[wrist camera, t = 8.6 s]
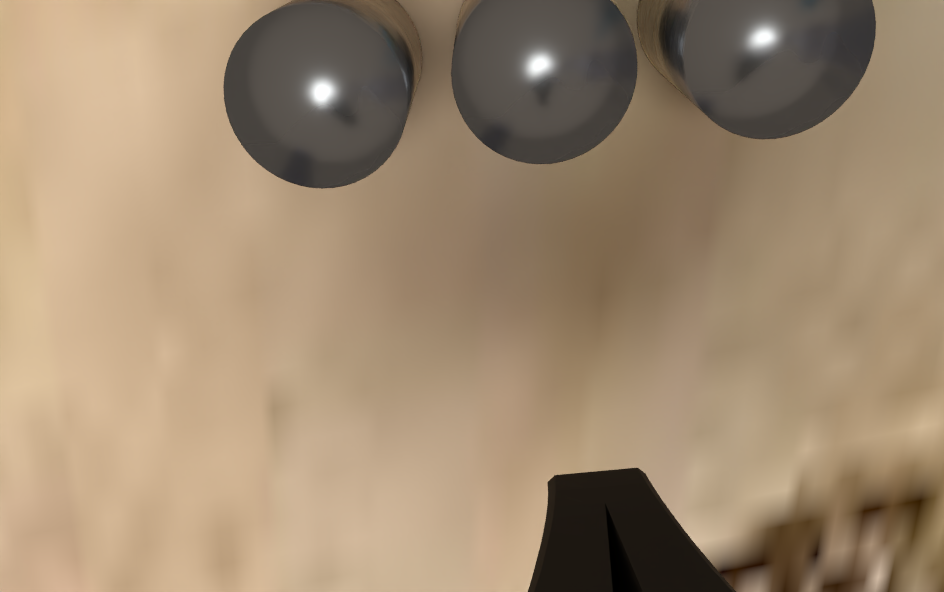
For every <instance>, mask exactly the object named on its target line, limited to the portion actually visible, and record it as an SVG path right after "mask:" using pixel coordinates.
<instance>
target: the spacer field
mask: <svg viewBox="0 0 944 592" xmlns="http://www.w3.org/2000/svg"><path fill="white" fill-rule="evenodd" d="M637 25H638V34H639V38H640V42H641V45H642V48H643V50H644V52H645V54H646V56H647V58H648V59H649V61H650V62H651V63H652V65H653V66H654V67H655V68H656V69H657V70H658V71H659V72H660V73H661V74H662V75H663V76H664V77H665V78H666V79H668V80H669V81H670V82H671V83H672V84H673V85H674V86H675V87H676V88H677V89H678V90H679V91H681V92H682V93H683V94H684V95H685V96H686V97H687V98H688V99H689V100H690V101H691V102H693V103H694V104H695V105H696V106H697V107H698V108H699V109H700V110H701V111H702V112H703V113H705V114H706V115H707V116H708V117H709V118H710V119H711V120H712V121H714V122H715V123H716V124H718V125H719V126H720V127H722V128H724V129H726V130H728V131H729V132H732V133H734V134H737V135H740V136H744V137H748V138H755V139H776V138H782V137H787V136H791V135H794V134H797V133H800V132H802V131H805V130H807V129H809V128H811V127H813V126H815V125H817V124H818V123H820V122H822V121H823V120H825V119H826V118H827V117H829V116H830V115H831V114H833V113H834V112H835V111H836V110H837V109H838V108H839V107H840V106H841V105H842V104H843V103H844V102H845V101H846V100H847V99H848V98H849V97H850V95H851V94H852V93H853V91H854V90H855V88H856V87H857V86H858V84H859V82H860V80H861V79H862V77H863V75H864V73H865V71H866V68H867V66H868V64H869V61H870V58H871V54H872V51H873V47H874V41H875V29H876V21H875V11H874V6H873V2H872V0H640V2H639V7H638V17H637ZM421 68H422V50H421V44H420V39H419V36H418V33H417V30H416V28H415V26H414V24H413V22H412V20H411V18H410V17H409V15H408V14H407V12H406V11H405V10H404V9H403V7H402V6H401V5H400V4H399V3H398V2H397V1H396V0H293V1H291V2H289V3H287V4H285V5H283V6H281V7H280V8H278V9H276V10H274V11H272V12H270V13H269V14H267V15H265V16H263V17H262V18H260V19H259V20H257V21H256V22H255V23H253V24H252V25H251V26H250V27H249V28H248V29H247V30H246V31H245V32H244V33H243V35H242V36H241V37H240V39H239V40H238V41H237V43H236V45H235V47H234V48H233V50H232V52H231V55H230V57H229V60H228V63H227V67H226V71H225V76H224V101H225V106H226V112H227V115H228V118H229V121H230V124H231V126H232V128H233V131H234V133H235V135H236V136H237V138H238V140H239V141H240V143H241V145H242V146H243V147H244V148H245V150H246V151H247V152H248V154H249V155H250V156H251V157H252V158H253V159H254V160H255V161H256V162H257V163H259V164H260V165H261V166H262V167H264V168H265V169H266V170H267V171H269V172H271V173H272V174H274V175H276V176H277V177H279V178H281V179H284V180H286V181H288V182H291V183H294V184H297V185H301V186H305V187H311V188H335V187H340V186H345V185H348V184H352V183H355V182H357V181H359V180H361V179H363V178H365V177H367V176H368V175H370V174H371V173H373V172H374V171H376V170H377V169H378V168H379V167H380V166H381V165H383V163H384V162H385V161H386V160H387V159H388V158H389V157H390V155H391V154H392V152H393V151H394V149H395V148H396V146H397V144H398V142H399V140H400V138H401V135H402V132H403V129H404V126H405V123H406V120H407V117H408V113H409V110H410V107H411V104H412V101H413V97H414V94H415V91H416V88H417V84H418V81H419V78H420V74H421ZM451 76H452V87H453V92H454V97H455V100H456V103H457V106H458V109H459V111H460V113H461V115H462V117H463V119H464V121H465V122H466V124H467V125H468V127H469V128H470V130H471V131H472V132H473V133H474V134H475V135H476V137H477V138H478V139H479V140H481V141H482V142H483V143H484V144H485V145H486V146H488V147H489V148H491V149H492V150H494V151H495V152H497V153H499V154H501V155H503V156H505V157H507V158H510V159H513V160H516V161H520V162H525V163H532V164H551V163H557V162H563V161H566V160H569V159H572V158H575V157H577V156H580V155H582V154H584V153H586V152H587V151H589V150H591V149H592V148H594V147H595V146H597V145H598V144H599V143H601V142H602V141H603V140H604V139H605V138H606V137H607V136H608V135H609V134H610V133H611V132H612V131H613V130H614V129H615V127H616V126H617V125H618V124H619V122H620V121H621V119H622V117H623V116H624V114H625V112H626V111H627V108H628V106H629V104H630V102H631V99H632V96H633V92H634V89H635V84H636V78H637V54H636V48H635V43H634V39H633V36H632V33H631V31H630V28H629V26H628V24H627V22H626V20H625V18H624V17H623V15H622V14H621V12H620V11H619V10H618V8H617V7H616V6H615V5H614V4H613V2H612V1H611V0H465V1H464V3H463V5H462V8H461V11H460V14H459V18H458V23H457V29H456V36H455V43H454V50H453V57H452V69H451Z"/></svg>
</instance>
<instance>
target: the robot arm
mask: <svg viewBox="0 0 944 592" xmlns="http://www.w3.org/2000/svg"><path fill="white" fill-rule="evenodd" d="M528 592H736V591H735V590H734V589H733V588H732V587H731V585H730V584H729V583H728V582H727V581H726V580H725V579H724V578H723V576H722V575H721V574H720V573H719V572H718V571H717V570H716V568H715V567H714V566H713V565H712V564H711V562H710V561H709V560H708V559H707V558H706V556H705V555H704V554H703V553H702V552H701V550H700V549H699V548H698V547H697V546H696V545H695V543H694V542H693V541H692V540H691V538H690V537H689V536H688V534H687V533H686V532H685V531H684V529H683V528H682V527H681V525H680V524H679V523H678V521H677V520H676V519H675V517H674V516H673V515H672V513H671V512H670V511H669V509H668V508H667V506H666V505H665V504H664V502H663V501H662V499H661V498H660V496H659V495H658V493H657V492H656V490H655V489H654V487H653V486H652V484H651V482H650V481H649V479H648V477H647V476H646V474H645V473H644V472H642V471H641V470H640V469H639V468H630V469H619V470H608V471H597V472H586V473H575V474H564V475H555V476H554V477H553V478H552V479H551V480H550V481H549V482H548V506H547V515H546V521H545V527H544V532H543V537H542V542H541V546H540V550H539V554H538V557H537V561H536V565H535V569H534V573H533V577H532V580H531V583H530V587H529V590H528Z"/></svg>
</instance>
